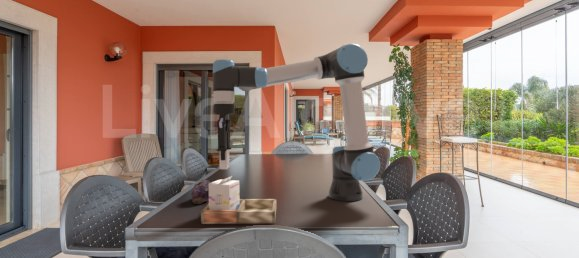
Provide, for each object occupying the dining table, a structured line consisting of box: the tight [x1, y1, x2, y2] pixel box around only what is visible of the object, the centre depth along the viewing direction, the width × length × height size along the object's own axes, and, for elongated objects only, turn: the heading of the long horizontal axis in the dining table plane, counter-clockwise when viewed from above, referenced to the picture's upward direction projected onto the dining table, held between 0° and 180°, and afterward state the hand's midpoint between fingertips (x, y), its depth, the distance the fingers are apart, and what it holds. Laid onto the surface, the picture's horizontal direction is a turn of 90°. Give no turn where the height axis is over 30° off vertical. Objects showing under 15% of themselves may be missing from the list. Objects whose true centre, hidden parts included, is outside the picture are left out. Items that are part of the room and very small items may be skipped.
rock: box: [191, 179, 212, 205], centre depth 139 cm, size 12×9×10 cm
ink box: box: [208, 175, 241, 210], centre depth 118 cm, size 9×8×13 cm
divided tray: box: [200, 198, 277, 225], centre depth 118 cm, size 25×17×4 cm
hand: (224, 168), depth 118 cm, fingers open, 3 cm apart
